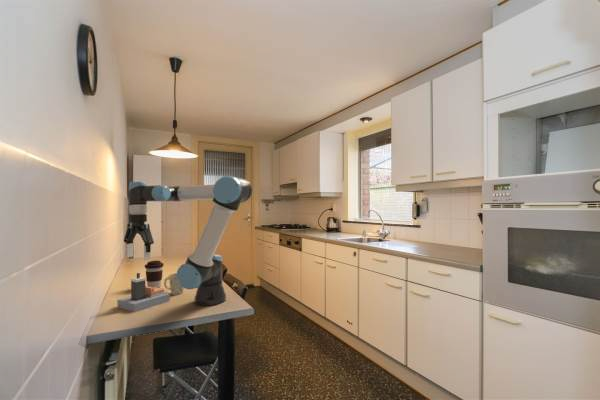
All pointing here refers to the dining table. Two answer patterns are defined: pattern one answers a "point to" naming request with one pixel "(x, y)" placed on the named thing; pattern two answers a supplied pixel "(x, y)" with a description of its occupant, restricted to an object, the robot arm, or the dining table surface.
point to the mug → (174, 284)
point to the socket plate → (143, 302)
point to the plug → (138, 288)
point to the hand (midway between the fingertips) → (138, 258)
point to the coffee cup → (154, 273)
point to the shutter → (153, 290)
